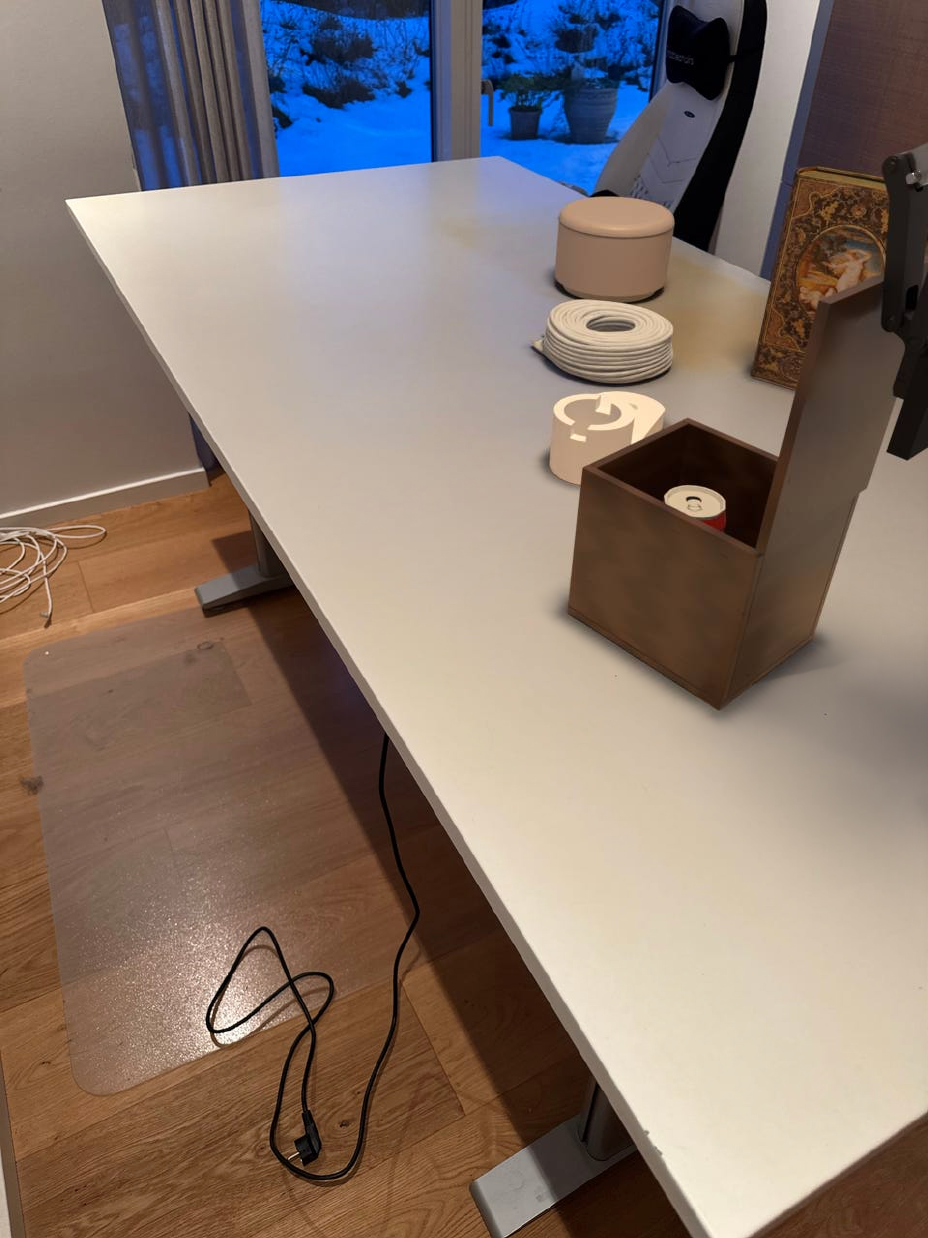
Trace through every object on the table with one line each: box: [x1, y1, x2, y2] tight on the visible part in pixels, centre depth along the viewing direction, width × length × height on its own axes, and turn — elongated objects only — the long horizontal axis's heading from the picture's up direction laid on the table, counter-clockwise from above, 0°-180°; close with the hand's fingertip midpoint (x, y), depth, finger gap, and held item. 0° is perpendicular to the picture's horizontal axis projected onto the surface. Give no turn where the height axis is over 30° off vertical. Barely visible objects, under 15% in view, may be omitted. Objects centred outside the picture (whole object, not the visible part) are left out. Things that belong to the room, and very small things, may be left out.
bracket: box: [549, 390, 666, 486], centre depth 105 cm, size 20×9×7 cm, turn 152°
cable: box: [530, 299, 674, 384], centre depth 125 cm, size 18×18×6 cm
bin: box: [567, 417, 861, 711], centre depth 77 cm, size 17×14×15 cm
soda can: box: [663, 485, 726, 533], centre depth 78 cm, size 6×6×12 cm
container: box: [554, 196, 676, 303], centre depth 146 cm, size 18×18×12 cm
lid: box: [755, 254, 928, 554], centre depth 62 cm, size 17×14×1 cm
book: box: [750, 165, 928, 391], centre depth 113 cm, size 16×6×25 cm, turn 51°
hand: (907, 449), depth 60 cm, fingers closed
